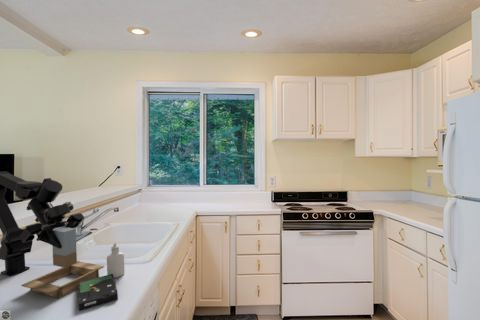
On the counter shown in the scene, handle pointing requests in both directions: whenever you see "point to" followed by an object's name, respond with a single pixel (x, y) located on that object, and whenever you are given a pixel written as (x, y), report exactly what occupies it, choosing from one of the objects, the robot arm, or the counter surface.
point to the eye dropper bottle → (115, 262)
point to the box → (65, 247)
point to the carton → (79, 268)
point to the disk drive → (97, 292)
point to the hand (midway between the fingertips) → (67, 245)
